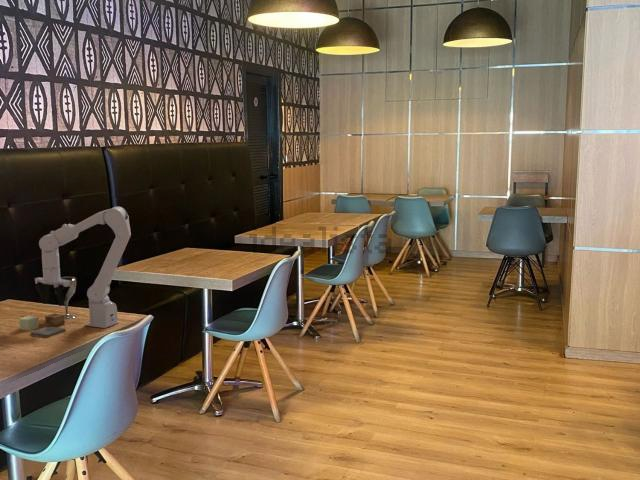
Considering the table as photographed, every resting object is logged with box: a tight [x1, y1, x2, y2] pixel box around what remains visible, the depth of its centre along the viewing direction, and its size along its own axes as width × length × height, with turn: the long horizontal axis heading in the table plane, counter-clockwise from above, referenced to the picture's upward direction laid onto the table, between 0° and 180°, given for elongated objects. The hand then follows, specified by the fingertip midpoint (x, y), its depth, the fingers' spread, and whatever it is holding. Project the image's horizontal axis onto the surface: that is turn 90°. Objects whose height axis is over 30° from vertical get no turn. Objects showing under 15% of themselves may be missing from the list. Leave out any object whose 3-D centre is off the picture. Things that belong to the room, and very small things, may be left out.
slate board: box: [29, 326, 66, 339], centre depth 221 cm, size 8×8×1 cm
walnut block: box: [44, 313, 66, 328], centre depth 230 cm, size 4×4×4 cm
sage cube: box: [18, 315, 40, 332], centre depth 227 cm, size 4×4×4 cm
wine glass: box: [53, 276, 78, 320], centre depth 241 cm, size 8×8×15 cm
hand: (53, 304), depth 229 cm, fingers open, 7 cm apart
